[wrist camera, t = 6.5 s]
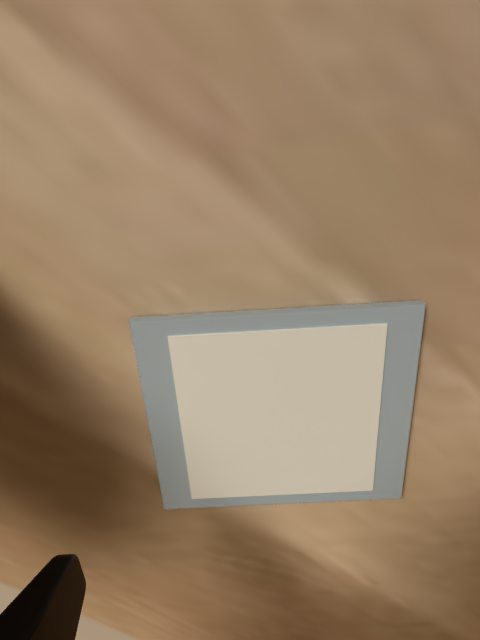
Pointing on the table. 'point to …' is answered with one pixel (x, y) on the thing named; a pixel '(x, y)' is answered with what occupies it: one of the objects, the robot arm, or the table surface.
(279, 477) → the sketch board
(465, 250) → the table surface
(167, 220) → the table surface
